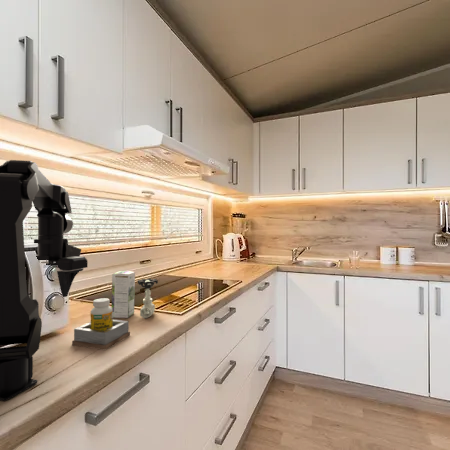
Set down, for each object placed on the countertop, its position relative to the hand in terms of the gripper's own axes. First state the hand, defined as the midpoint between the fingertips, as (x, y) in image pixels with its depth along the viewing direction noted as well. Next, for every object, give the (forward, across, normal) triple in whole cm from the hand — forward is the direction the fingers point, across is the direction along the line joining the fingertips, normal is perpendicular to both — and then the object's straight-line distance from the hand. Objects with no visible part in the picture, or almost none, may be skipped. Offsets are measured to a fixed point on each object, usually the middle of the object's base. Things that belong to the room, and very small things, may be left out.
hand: (50, 295), depth 79 cm
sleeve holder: (+12, -12, -5) cm, 18 cm away
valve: (+12, -12, -27) cm, 32 cm away
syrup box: (+12, -4, -25) cm, 28 cm away
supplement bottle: (+11, -12, -5) cm, 17 cm away
